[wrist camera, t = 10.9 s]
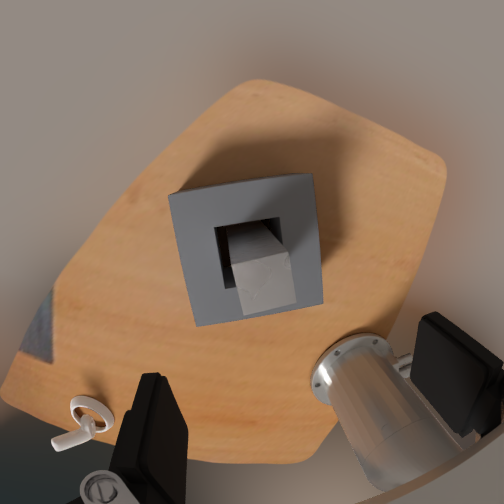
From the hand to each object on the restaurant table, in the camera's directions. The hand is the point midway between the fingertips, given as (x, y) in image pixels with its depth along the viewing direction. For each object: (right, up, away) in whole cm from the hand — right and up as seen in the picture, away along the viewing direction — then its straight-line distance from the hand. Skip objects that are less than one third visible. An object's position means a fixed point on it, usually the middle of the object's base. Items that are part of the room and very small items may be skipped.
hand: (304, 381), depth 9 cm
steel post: (-2, +6, +21) cm, 22 cm away
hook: (-27, -21, +26) cm, 43 cm away
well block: (-3, +6, +21) cm, 22 cm away
